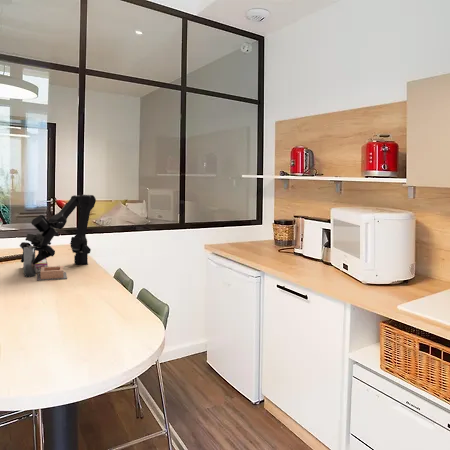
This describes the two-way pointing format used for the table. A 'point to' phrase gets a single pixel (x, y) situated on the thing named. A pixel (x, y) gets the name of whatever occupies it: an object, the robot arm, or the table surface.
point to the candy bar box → (39, 265)
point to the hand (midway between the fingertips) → (27, 263)
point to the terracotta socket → (51, 273)
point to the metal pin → (29, 262)
